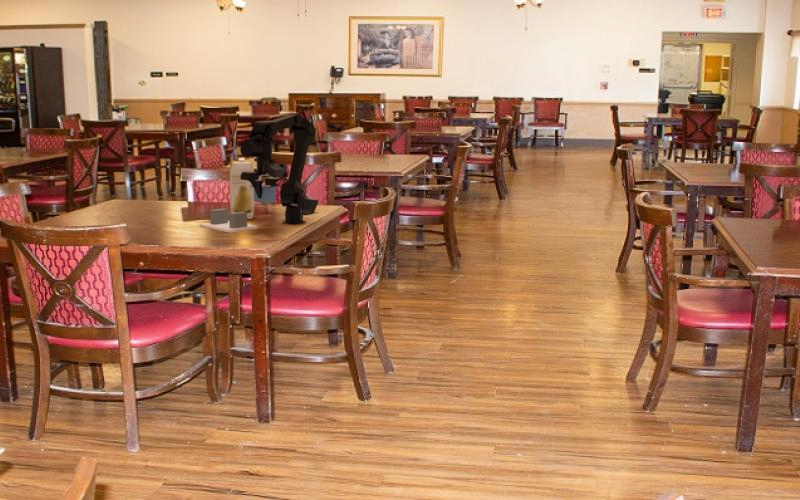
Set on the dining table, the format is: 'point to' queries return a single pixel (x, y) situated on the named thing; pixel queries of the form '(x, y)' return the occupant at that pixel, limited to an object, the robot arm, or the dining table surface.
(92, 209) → the dining table surface
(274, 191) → the block
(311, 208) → the black tapered bin
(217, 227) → the plate
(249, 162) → the juice carton
